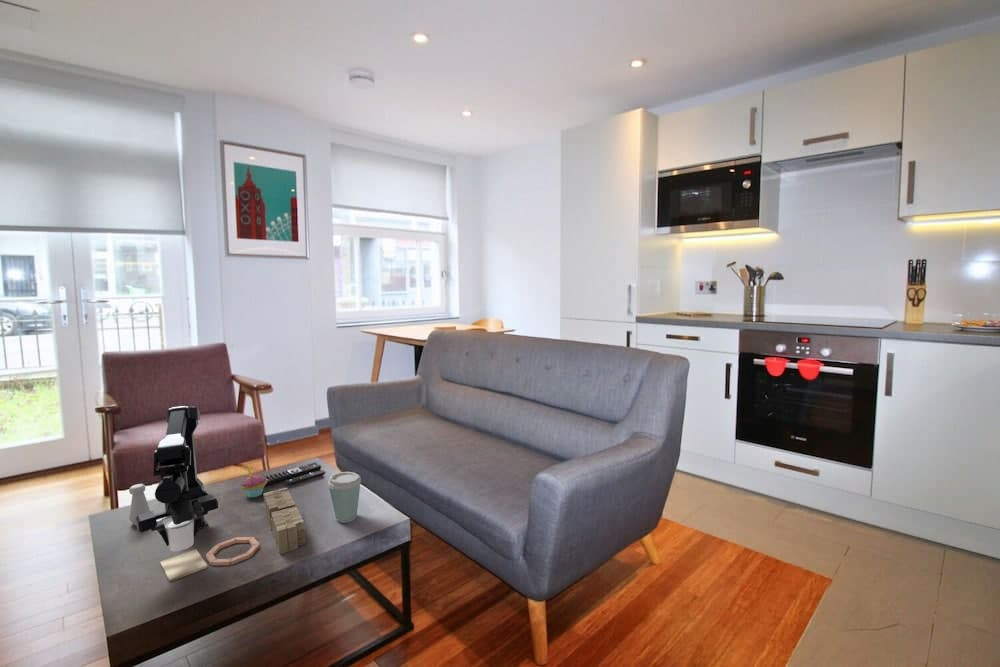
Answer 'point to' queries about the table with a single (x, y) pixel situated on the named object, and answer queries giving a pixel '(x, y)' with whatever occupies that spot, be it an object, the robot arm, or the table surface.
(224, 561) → the ring coaster
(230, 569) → the table surface
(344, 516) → the disposable coffee cup
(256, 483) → the cupcake
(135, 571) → the table surface
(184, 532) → the white cylinder
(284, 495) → the block tower
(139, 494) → the salt shaker
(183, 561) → the beige flat pad
